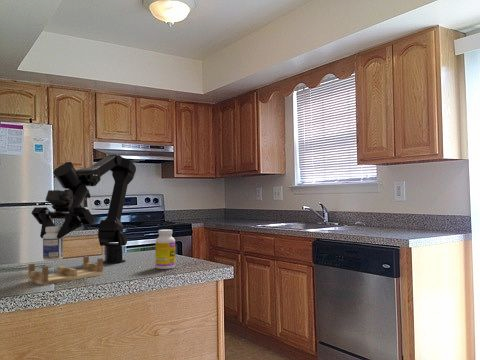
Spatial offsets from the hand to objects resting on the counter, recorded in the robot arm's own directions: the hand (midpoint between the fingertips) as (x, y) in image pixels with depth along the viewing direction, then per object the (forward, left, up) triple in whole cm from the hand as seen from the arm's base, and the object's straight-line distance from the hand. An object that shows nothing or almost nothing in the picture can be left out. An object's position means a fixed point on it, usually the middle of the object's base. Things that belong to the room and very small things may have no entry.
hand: (49, 237), depth 125 cm
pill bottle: (-1, +1, -7) cm, 7 cm away
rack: (-1, +6, -13) cm, 14 cm away
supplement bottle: (+11, +35, -13) cm, 39 cm away
